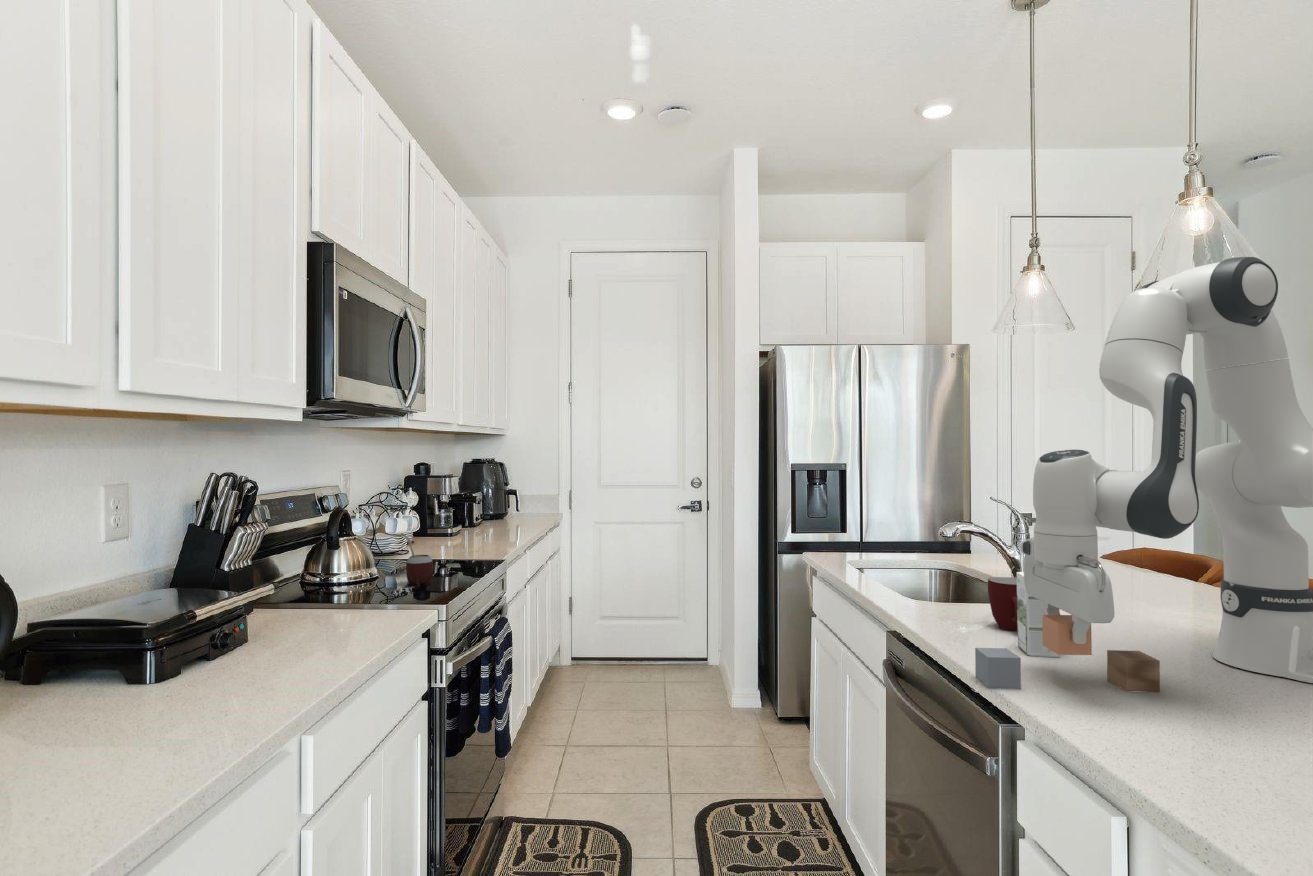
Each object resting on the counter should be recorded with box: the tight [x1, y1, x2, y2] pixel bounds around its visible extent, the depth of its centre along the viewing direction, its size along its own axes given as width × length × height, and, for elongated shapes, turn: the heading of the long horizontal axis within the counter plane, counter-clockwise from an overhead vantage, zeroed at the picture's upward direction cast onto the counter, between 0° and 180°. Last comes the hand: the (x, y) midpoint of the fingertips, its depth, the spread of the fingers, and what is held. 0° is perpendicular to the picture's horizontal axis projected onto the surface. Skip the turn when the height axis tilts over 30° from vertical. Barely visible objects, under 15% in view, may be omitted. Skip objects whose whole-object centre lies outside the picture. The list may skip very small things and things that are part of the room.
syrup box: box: [1016, 571, 1061, 658], centre depth 125 cm, size 6×6×14 cm
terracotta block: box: [1042, 614, 1093, 656], centre depth 109 cm, size 5×5×5 cm
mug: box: [987, 576, 1018, 632], centre depth 140 cm, size 10×8×10 cm
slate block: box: [974, 647, 1022, 690], centre depth 109 cm, size 5×5×5 cm
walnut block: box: [1106, 649, 1161, 693], centre depth 108 cm, size 5×5×5 cm
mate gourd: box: [400, 532, 434, 589], centre depth 185 cm, size 8×8×15 cm
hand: (1066, 636), depth 109 cm, fingers closed on terracotta block, 5 cm apart
